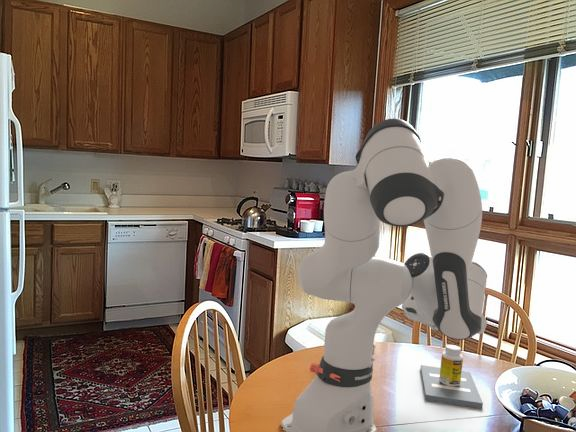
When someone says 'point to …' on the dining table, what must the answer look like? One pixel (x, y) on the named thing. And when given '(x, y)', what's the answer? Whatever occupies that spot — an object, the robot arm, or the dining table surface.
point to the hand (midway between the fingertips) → (452, 331)
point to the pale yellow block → (373, 348)
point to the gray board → (450, 389)
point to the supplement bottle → (451, 366)
